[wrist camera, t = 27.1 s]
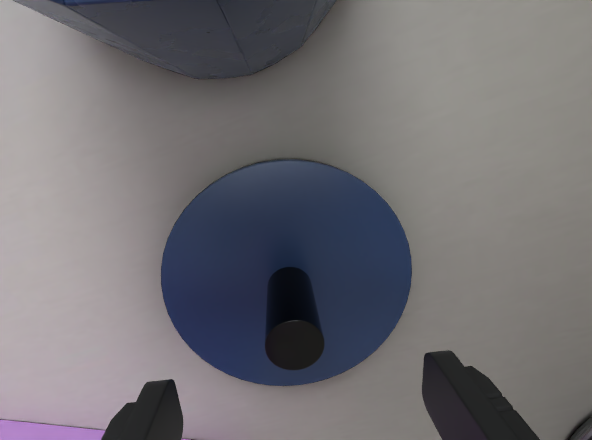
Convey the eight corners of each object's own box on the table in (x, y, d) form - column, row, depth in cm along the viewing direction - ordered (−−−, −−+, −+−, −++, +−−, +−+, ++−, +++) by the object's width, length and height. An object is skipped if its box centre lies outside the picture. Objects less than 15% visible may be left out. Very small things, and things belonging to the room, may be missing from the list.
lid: (402, 359, 20) (450, 449, 15) (191, 384, 20) (158, 487, 14) (407, 146, 16) (476, 158, 11) (142, 170, 16) (69, 196, 10)
